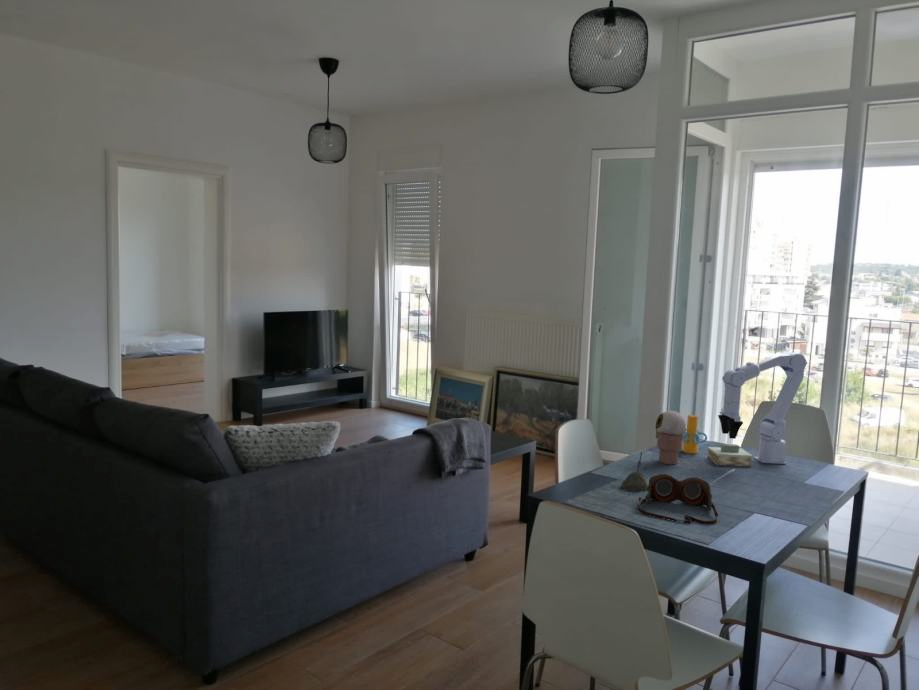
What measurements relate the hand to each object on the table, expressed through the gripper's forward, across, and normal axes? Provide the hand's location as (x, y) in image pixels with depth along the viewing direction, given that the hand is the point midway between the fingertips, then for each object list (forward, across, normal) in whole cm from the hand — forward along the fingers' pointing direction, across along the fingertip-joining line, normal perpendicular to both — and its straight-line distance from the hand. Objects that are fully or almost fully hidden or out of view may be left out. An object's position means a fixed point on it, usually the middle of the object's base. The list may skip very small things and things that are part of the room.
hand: (728, 435), depth 276 cm
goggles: (+10, +59, -38) cm, 71 cm away
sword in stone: (+10, +39, -45) cm, 60 cm away
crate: (+10, 0, +1) cm, 10 cm away
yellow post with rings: (+10, -13, -10) cm, 19 cm away
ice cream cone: (+10, +4, -24) cm, 27 cm away
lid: (+7, 0, +1) cm, 7 cm away
